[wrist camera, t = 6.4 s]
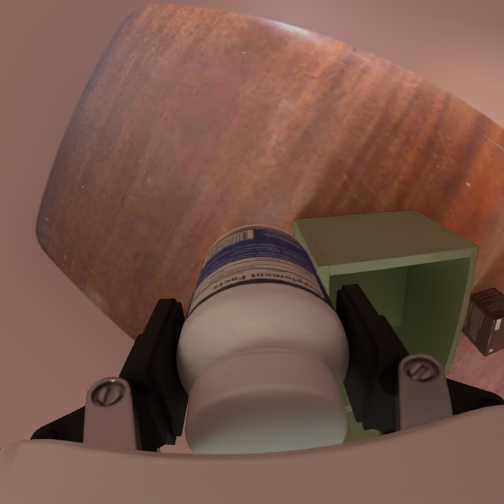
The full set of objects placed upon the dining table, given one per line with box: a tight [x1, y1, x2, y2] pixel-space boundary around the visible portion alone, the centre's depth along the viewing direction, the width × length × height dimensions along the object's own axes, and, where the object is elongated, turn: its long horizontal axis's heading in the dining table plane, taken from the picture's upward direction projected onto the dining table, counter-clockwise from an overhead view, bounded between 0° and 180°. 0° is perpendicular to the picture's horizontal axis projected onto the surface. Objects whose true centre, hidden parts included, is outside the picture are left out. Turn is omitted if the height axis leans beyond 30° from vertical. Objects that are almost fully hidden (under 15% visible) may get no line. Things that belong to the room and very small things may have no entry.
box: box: [462, 288, 504, 356], centre depth 34 cm, size 6×6×7 cm
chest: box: [294, 210, 479, 411], centre depth 30 cm, size 16×14×12 cm
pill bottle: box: [176, 224, 350, 454], centre depth 11 cm, size 5×5×10 cm
